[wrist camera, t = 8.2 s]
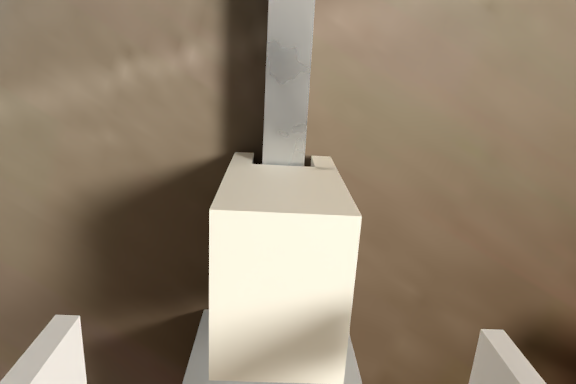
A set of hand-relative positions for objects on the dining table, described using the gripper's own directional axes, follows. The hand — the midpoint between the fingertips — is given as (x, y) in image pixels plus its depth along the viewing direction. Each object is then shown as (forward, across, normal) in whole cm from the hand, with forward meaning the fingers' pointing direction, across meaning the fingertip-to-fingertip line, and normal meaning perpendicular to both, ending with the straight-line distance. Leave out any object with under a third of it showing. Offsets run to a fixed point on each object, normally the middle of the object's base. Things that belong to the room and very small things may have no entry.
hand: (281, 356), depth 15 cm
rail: (+16, 0, +5) cm, 16 cm away
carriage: (+15, 0, -1) cm, 15 cm away
